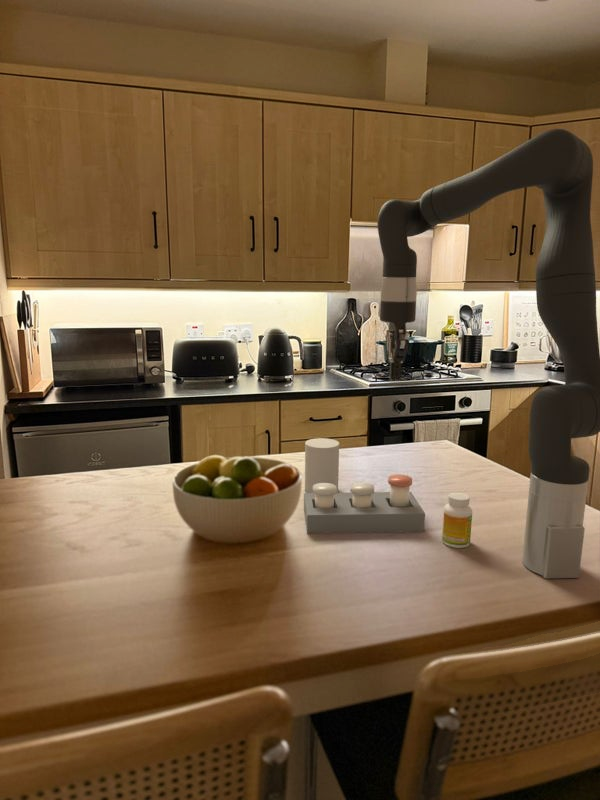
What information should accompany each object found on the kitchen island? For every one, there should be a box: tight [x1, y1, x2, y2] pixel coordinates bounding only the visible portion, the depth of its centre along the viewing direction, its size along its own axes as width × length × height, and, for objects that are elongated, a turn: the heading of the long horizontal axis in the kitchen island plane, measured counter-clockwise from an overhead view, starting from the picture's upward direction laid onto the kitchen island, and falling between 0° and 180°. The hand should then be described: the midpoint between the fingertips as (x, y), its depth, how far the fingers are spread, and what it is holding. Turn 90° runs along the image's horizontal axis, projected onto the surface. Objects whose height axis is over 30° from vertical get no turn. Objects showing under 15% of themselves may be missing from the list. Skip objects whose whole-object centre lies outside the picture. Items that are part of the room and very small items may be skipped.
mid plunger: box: [349, 481, 375, 508], centre depth 122 cm, size 5×5×7 cm
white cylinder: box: [304, 437, 340, 493], centre depth 139 cm, size 8×8×12 cm
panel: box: [303, 491, 426, 535], centre depth 122 cm, size 12×24×4 cm, turn 93°
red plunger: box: [387, 474, 413, 507], centre depth 122 cm, size 5×5×7 cm
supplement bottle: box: [441, 492, 473, 549], centre depth 112 cm, size 5×5×10 cm
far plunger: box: [313, 483, 337, 508], centre depth 121 cm, size 5×5×7 cm
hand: (395, 379), depth 126 cm, fingers closed
